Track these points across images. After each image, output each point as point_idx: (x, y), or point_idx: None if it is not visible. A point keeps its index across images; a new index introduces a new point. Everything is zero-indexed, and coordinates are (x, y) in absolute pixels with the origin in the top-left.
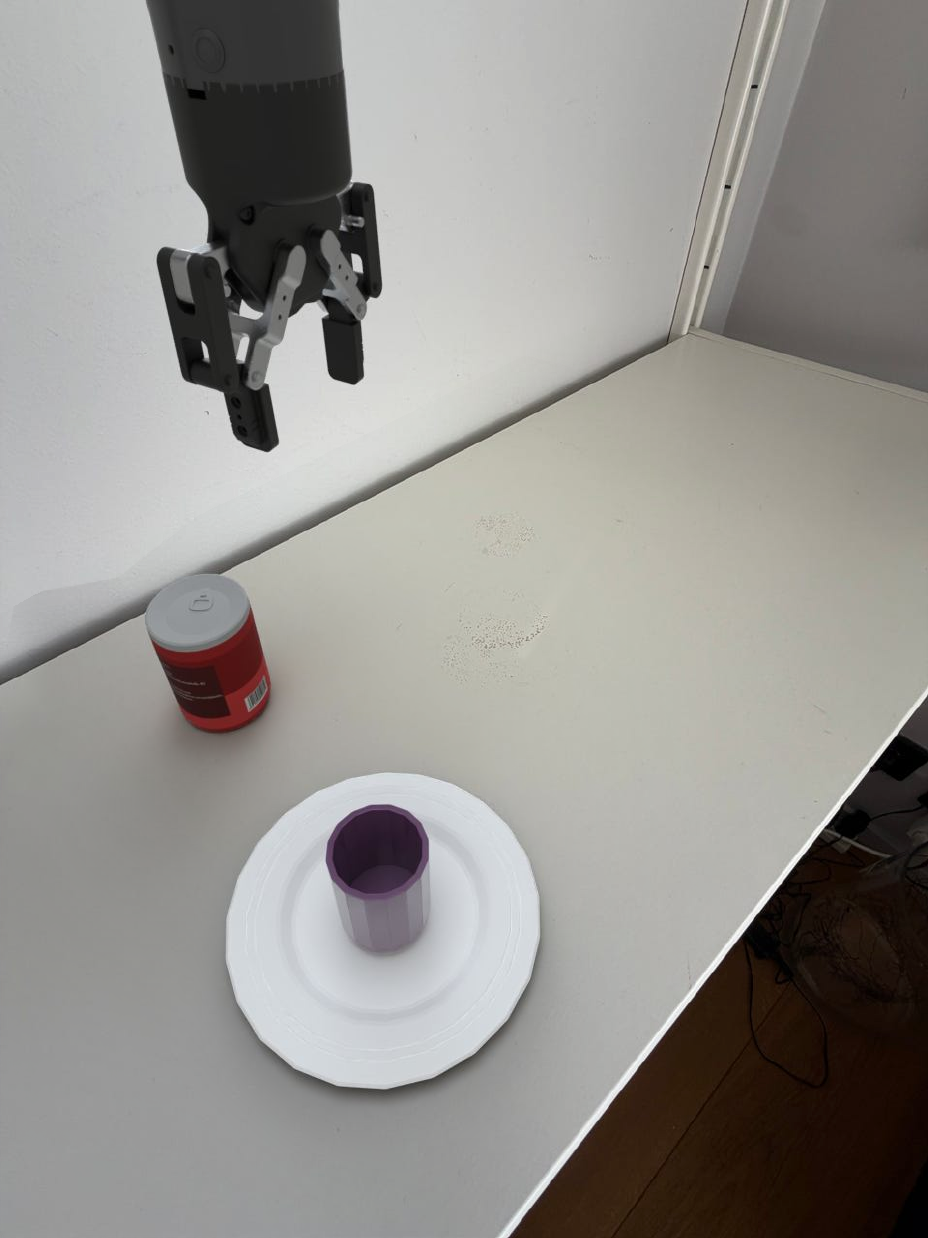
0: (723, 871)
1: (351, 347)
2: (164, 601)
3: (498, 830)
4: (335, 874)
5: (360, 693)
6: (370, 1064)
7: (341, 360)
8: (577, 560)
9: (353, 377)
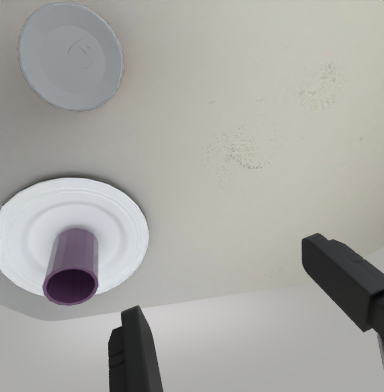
0: (193, 290)
1: (337, 301)
2: (50, 21)
3: (142, 247)
4: (45, 286)
5: (154, 128)
6: (31, 286)
7: (322, 271)
8: (318, 144)
9: (308, 269)
